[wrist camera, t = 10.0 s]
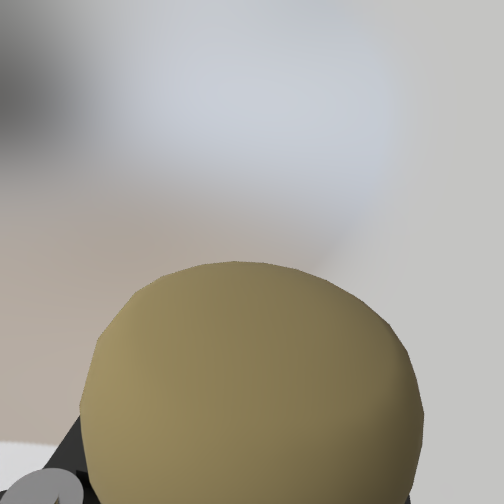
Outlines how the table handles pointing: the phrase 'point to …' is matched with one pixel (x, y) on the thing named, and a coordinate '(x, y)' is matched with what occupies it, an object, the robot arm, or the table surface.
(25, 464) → the table surface
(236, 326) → the cork
